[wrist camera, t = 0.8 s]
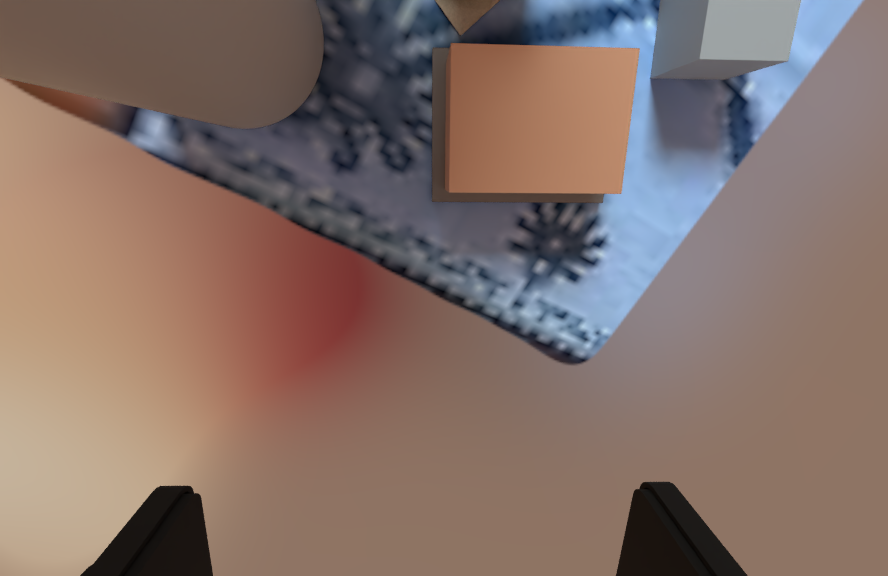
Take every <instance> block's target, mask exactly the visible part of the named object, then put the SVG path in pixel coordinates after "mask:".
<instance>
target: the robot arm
mask: <svg viewBox="0 0 888 576" xmlns="http://www.w3.org/2000/svg"><path fill="white" fill-rule="evenodd" d="M80 576H213V573H212V566H211V559H210V553H209V547H208V540H207V533H206V527H205V520H204V514H203V507H202V500H201V496H200V495H199V494H197V493H195V494H194V492H193V489H192V487H191V486H160V487H158V488H156V489H155V490H154V491H153V492H152V493H151V494H150V496H149V497H148V498H147V499H146V501H145V502H144V503H143V504H142V505H141V507H140V508H139V509H138V510H137V512H136V513H135V514H134V515H133V516H132V518H131V519H130V520H129V521H128V522H127V524H126V525H125V526H124V527H123V529H122V530H121V531H120V532H119V533H118V535H117V536H116V537H115V538H114V540H113V541H112V542H111V543H110V544H109V546H108V547H107V548H106V549H105V550H104V552H103V553H102V554H101V555H100V557H99V558H98V559H97V560H96V561H95V563H94V564H93V565H91V566H90V567H88V568H87V569H86V570H85V571H84V572H83V573H82V574H81V575H80ZM616 576H747V574H746V573H745V572H744V571H743V569H742V568H741V567H740V566H739V565H738V563H737V562H736V561H735V560H734V558H733V557H732V556H731V555H730V553H729V552H728V551H727V550H726V548H725V547H724V546H723V545H722V543H721V542H720V541H719V540H718V538H717V537H716V536H715V535H714V534H713V532H712V531H711V530H710V528H709V527H708V526H707V525H706V523H705V522H704V521H703V520H702V519H701V517H700V516H699V515H698V514H697V512H696V511H695V510H694V509H693V507H692V506H691V505H690V504H689V502H688V501H687V500H686V499H685V497H684V496H683V495H682V494H681V492H680V491H679V490H678V489H677V487H676V486H675V485H674V484H673V483H670V482H643V483H642V484H641V486H640V489H636V490H635V491H634V493H633V498H632V502H631V507H630V512H629V517H628V522H627V526H626V531H625V536H624V540H623V545H622V550H621V555H620V559H619V564H618V569H617V574H616Z"/></svg>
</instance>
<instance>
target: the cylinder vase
mask: <svg viewBox="0 0 888 576" xmlns="http://www.w3.org/2000/svg"><path fill="white" fill-rule="evenodd" d="M323 52H324V36H323V27H322V21H321V17H320V13H319V9H318V6H317V3H316V1H315V0H0V77H2V78H7V79H12V80H16V81H21V82H25V83H30V84H34V85H39V86H43V87H48V88H53V89H57V90H62V91H66V92H71V93H75V94H80V95H84V96H89V97H94V98H98V99H103V100H107V101H112V102H116V103H121V104H125V105H130V106H134V107H139V108H144V109H148V110H153V111H157V112H162V113H166V114H171V115H175V116H180V117H185V118H189V119H194V120H198V121H203V122H207V123H212V124H216V125H221V126H226V127H231V128H239V129H253V128H260V127H265V126H268V125H271V124H274V123H277V122H279V121H281V120H283V119H285V118H286V117H288V116H289V115H291V114H292V113H293V112H295V111H296V110H297V109H298V108H299V107H300V106H301V105H302V104H303V103H304V101H305V100H306V99H307V97H308V96H309V95H310V93H311V91H312V90H313V88H314V86H315V84H316V81H317V79H318V76H319V73H320V70H321V66H322V60H323Z"/></svg>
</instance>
